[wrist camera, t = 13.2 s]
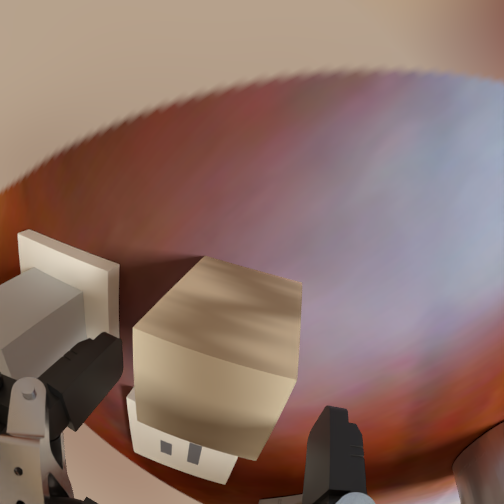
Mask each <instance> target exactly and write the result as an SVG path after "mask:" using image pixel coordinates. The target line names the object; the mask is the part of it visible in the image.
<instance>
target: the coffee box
mask: <svg viewBox="0 0 504 504" xmlns="http://www.w3.org/2000/svg"><path fill="white" fill-rule="evenodd" d="M302 496H303V494H300V495H293V496H287V497H279V498H271V499H262V500H259V503H258V504H302Z"/></svg>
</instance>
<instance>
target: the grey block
mask: <svg viewBox="0 0 504 504" xmlns="http://www.w3.org/2000/svg"><path fill="white" fill-rule="evenodd" d="M86 339H87V334H86V325H85V314H84V301H83V291H81V290H79V289H77V288H75V287H73V286H71V285H68V284H66V283H64V282H62V281H60V280H58V279H56V278H54V277H52V276H50V275H48V274H46V273H44V272H42V271H40V270H38V269H37V268H35V267H34V268H32V269H30V270H28V271H26V272H24V273H22V274H20V275H18V276H16V277H14V278H12V279H10V280H9V281H7V282H5V283H3V284H1V285H0V372H1V374H3V375H6V376H8V377H10V378H13V379H16V380H19V379H21V378H24V377H34V378H38V377H39V376H40V375H42V374H43V373H44V372H45V371H46V370H47V369H48V368H49V367H51V366H52V365H53V364H54V363H55V362H56V361H57V360H59V359H60V358H61V357H63V356H64V354H65V353H67V352H68V351H70V349H71V348H72V347H74V346H75V345H76V344H77V343H78V342H81V341H83V340H86Z"/></svg>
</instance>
